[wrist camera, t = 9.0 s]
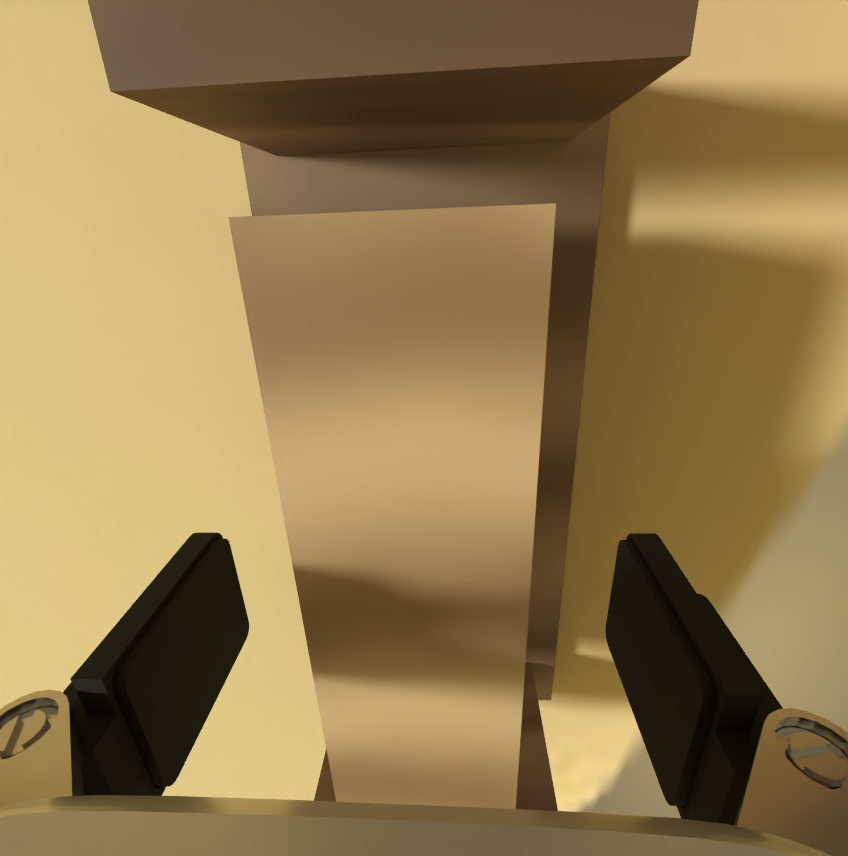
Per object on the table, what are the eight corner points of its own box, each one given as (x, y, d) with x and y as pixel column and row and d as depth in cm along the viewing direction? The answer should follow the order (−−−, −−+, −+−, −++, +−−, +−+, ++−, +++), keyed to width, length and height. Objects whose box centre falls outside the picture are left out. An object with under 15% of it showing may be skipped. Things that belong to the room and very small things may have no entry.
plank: (303, 219, 11) (228, 217, 7) (519, 210, 11) (556, 203, 7) (363, 695, 17) (340, 822, 14) (501, 698, 17) (514, 829, 13)
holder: (238, 66, 13) (-21, -125, 6) (608, 42, 12) (822, -206, 5) (335, 679, 23) (281, 890, 15) (547, 683, 22) (594, 907, 15)
